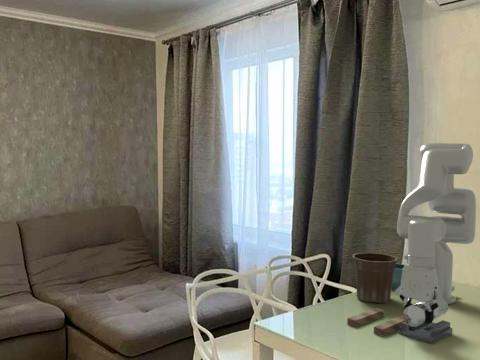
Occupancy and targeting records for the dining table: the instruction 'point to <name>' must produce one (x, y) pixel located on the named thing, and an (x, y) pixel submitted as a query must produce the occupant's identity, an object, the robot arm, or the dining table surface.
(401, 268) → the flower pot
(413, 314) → the axle
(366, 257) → the plant pot
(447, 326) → the v block
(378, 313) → the wooden blocks
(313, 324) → the dining table surface
